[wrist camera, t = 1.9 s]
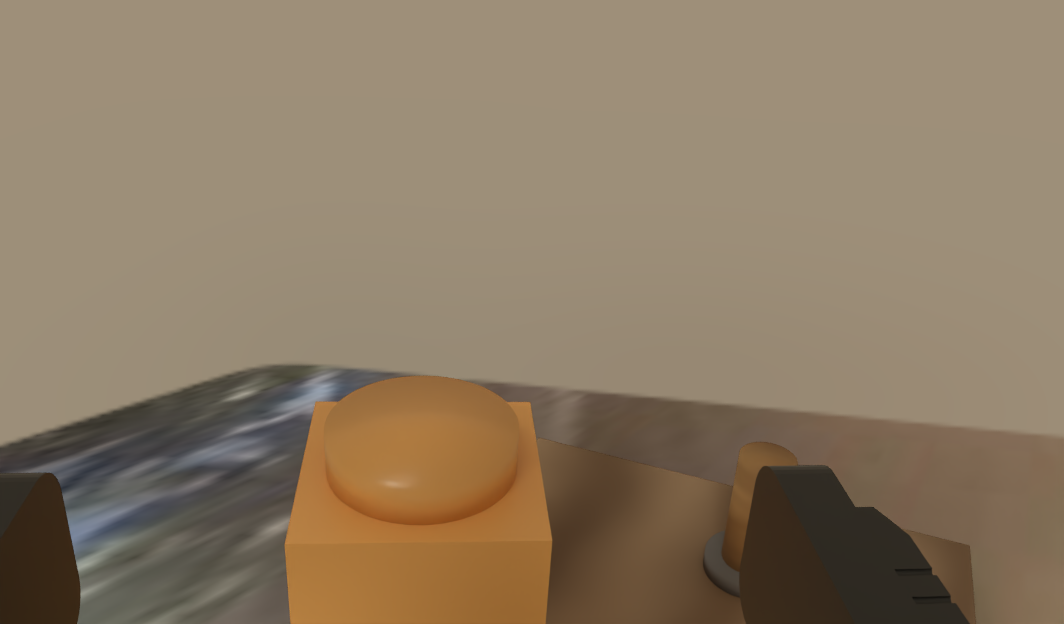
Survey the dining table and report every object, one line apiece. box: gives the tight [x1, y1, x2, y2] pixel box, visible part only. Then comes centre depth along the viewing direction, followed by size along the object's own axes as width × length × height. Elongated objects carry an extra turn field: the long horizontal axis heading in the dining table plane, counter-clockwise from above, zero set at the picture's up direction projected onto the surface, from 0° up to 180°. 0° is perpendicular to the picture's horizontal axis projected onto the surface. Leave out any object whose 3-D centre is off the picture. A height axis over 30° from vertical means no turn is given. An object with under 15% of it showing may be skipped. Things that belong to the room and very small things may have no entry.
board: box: [536, 438, 976, 624], centre depth 35 cm, size 18×11×6 cm, turn 70°
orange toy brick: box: [285, 376, 552, 624], centre depth 26 cm, size 6×6×12 cm
